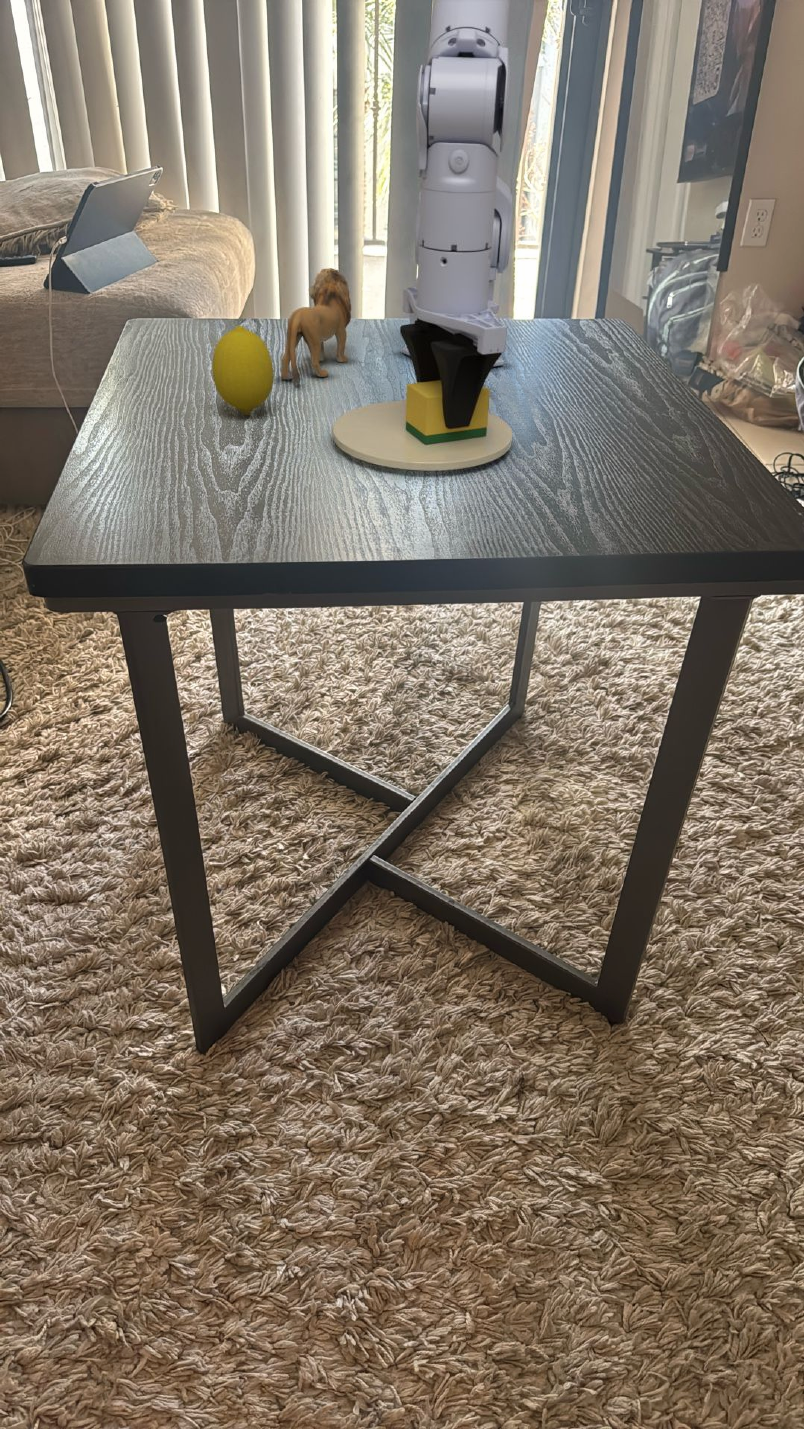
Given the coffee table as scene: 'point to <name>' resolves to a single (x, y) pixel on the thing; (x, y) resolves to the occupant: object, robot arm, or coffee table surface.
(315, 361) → the lion figurine
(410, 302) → the robot arm
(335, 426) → the plate
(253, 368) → the lemon
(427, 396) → the sponge
